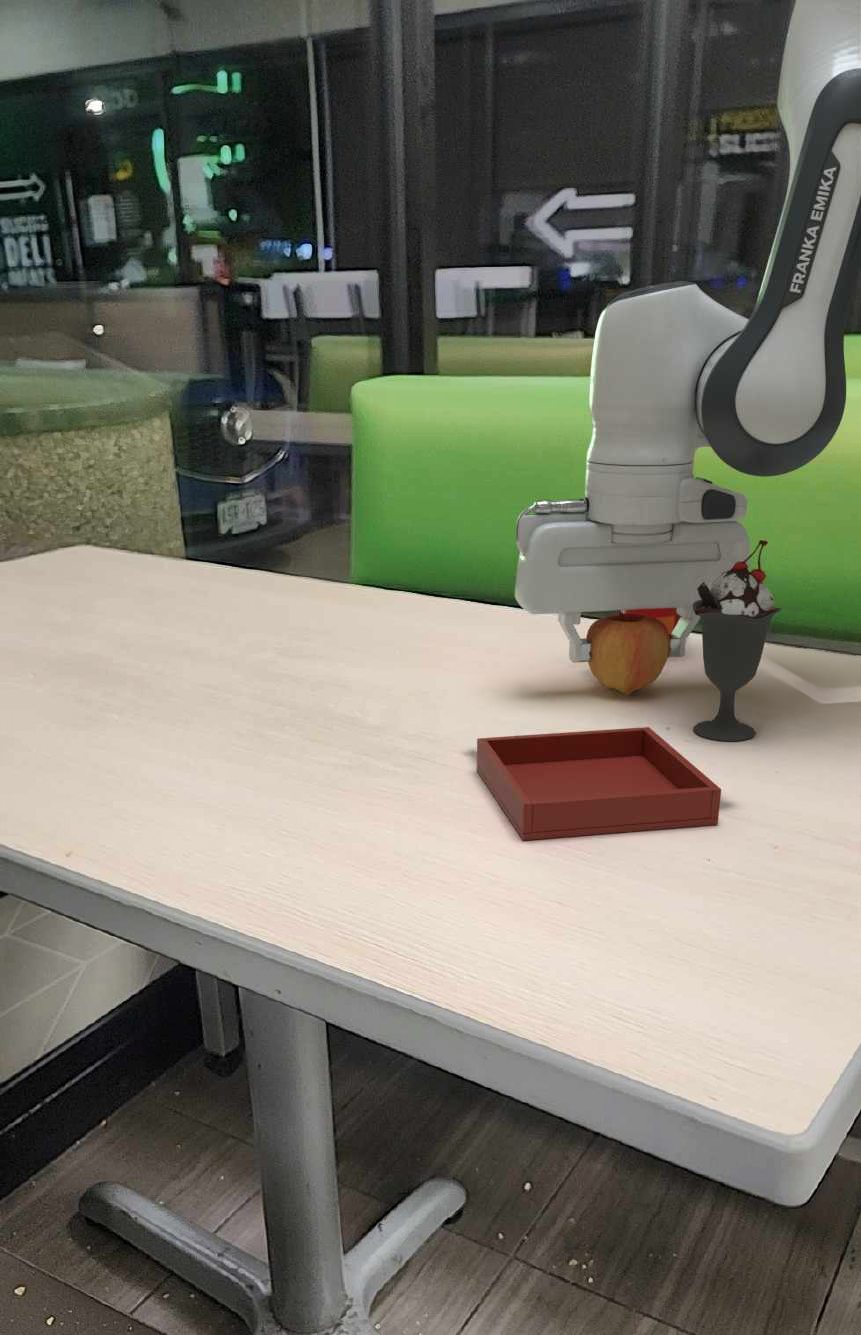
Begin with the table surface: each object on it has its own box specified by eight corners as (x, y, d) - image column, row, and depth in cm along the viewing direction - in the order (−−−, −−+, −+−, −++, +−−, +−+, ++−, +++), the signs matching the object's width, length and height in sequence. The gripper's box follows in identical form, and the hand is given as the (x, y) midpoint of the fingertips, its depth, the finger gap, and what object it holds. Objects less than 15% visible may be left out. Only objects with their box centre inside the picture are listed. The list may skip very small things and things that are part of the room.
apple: (630, 708, 100) (636, 615, 96) (566, 690, 105) (570, 602, 102) (682, 691, 104) (690, 602, 101) (619, 675, 109) (624, 590, 106)
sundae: (776, 726, 95) (799, 538, 89) (752, 750, 90) (774, 552, 84) (698, 714, 98) (714, 532, 92) (670, 736, 93) (686, 544, 87)
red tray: (646, 758, 88) (649, 726, 87) (718, 824, 76) (721, 789, 75) (476, 770, 86) (476, 738, 85) (522, 840, 74) (523, 804, 73)
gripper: (527, 506, 93) (522, 674, 99) (765, 498, 96) (748, 661, 102) (507, 496, 99) (504, 655, 104) (733, 489, 102) (719, 644, 108)
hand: (627, 658), depth 103 cm, fingers closed on apple, 7 cm apart
